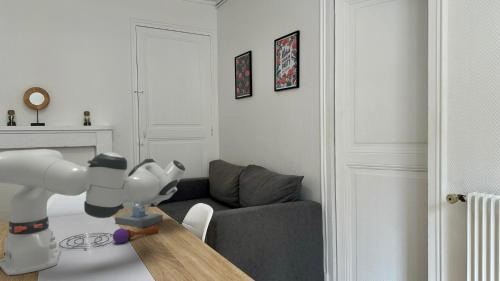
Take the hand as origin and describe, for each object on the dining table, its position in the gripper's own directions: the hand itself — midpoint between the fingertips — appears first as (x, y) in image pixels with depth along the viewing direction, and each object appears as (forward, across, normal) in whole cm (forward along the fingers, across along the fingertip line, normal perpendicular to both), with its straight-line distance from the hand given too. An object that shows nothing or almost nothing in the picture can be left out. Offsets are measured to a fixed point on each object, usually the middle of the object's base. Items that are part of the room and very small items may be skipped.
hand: (147, 206), depth 170 cm
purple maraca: (-4, -20, -16) cm, 26 cm away
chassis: (+10, 0, -2) cm, 10 cm away
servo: (+10, -1, -2) cm, 10 cm away
